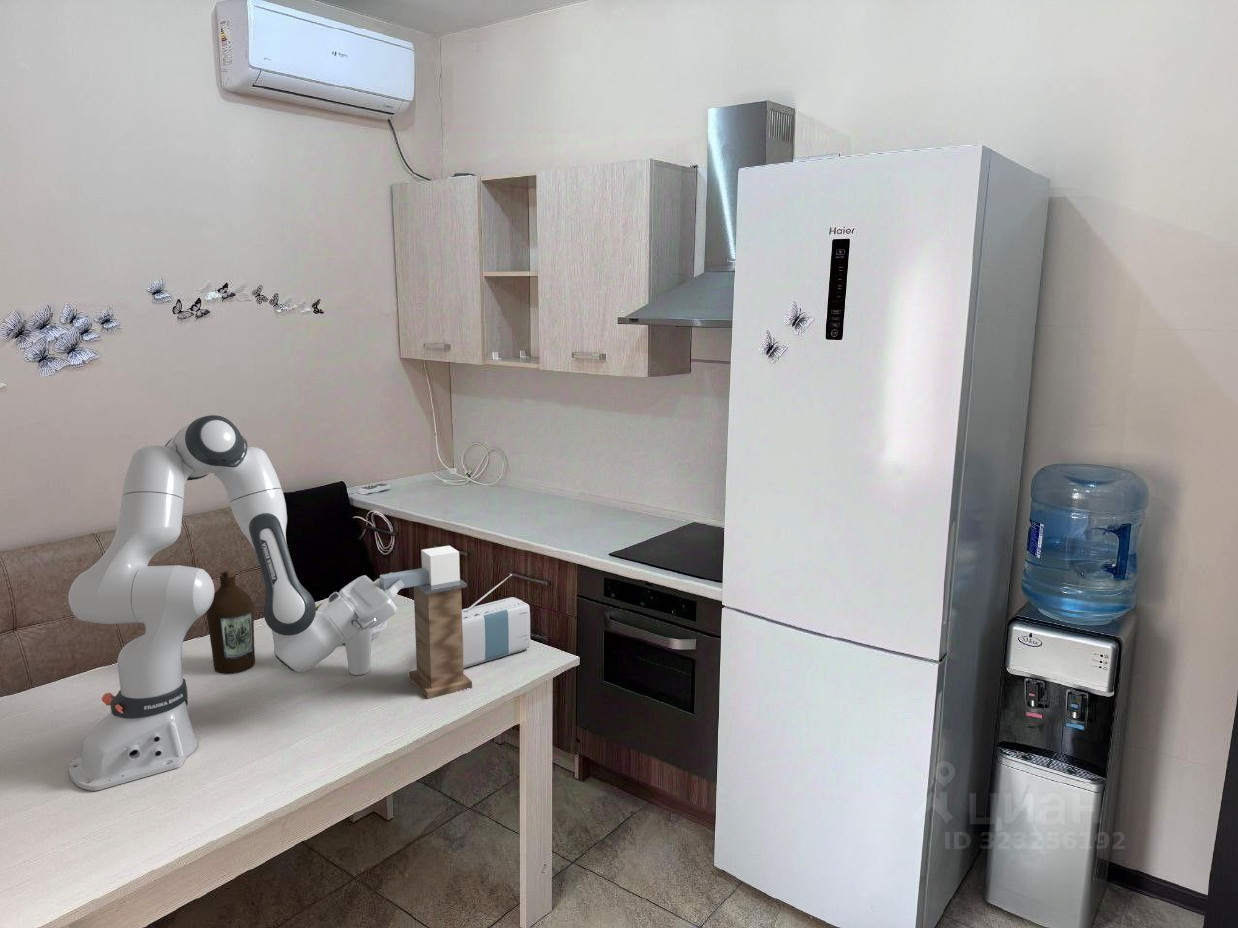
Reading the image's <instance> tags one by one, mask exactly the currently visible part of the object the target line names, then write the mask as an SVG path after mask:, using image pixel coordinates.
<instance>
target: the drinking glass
mask: <svg viewBox="0 0 1238 928" xmlns="http://www.w3.org/2000/svg"><path fill="white" fill-rule="evenodd" d="M345 639H346V638H345ZM346 640H347V639H346ZM372 640H373V639H372V628H371V629H369V628H368V629H366V630H365V629H364V630H362V631H360V632H359V633H358V634H357V635H355V636H354V637H353V638H351V639H350V640H349V641H347V642H346V643H344V645H345V651H346V652H345V653H346V659H347V669H348V673H349V674H351V675H352V676H361V675H366V674H368V673H369V672H370V671H371V668H372V666H371V665H372V664H371V663H372V661H371V660H372V659H371V658H372Z"/></svg>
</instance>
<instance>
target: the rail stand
mask: <svg viewBox="0 0 1238 928" xmlns="http://www.w3.org/2000/svg"><path fill="white" fill-rule="evenodd" d="M467 587H468V584H467V582H465V581H464V580H462V579H461V578H460V580H459V581H454V582H448V583H442V584H437V585H430V584H424V585H418V586H413V605H414V608H413V609H414V631H415V633H414V634H415V636H414V637H415V655H416V658H415V659H416V669H415V670H411V671H410V670H409V671H408V679H409V680H410V681H411V682H412V683H413V684H414V685H415V686H416V688H417V689H418V690H419V691H420V693H422V694H423V695H424V697H425V698H426V699H427V700H429V699H432V698H433V699H434V698H438V697H441V696H445V695H449V694H452V693H457V692H456V691H458V692H461V691H460V690H462V691H465V690H464V689H466V690H468V689H467V688H470V687H472V688H473V680H471V679H470V678H469V677H468V676H467V675H466V674H465V673H464V669H463V637H462V608H463V606H462V602H463V601H462V589H464V588H467ZM470 689H471V688H470Z"/></svg>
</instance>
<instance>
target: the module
mask: <svg viewBox="0 0 1238 928" xmlns="http://www.w3.org/2000/svg"><path fill="white" fill-rule="evenodd" d="M420 553H421V554H420V555H421V568H415V569H409V570H408V569H407V570H403V571H398V572H396V571H395V572H389V573H390V574H389V573H385V574H384V573H383V574H380V575H379V578H380V588H381V590H382V591H383V592H384V591H385V590H386V589H389V588H390V587H391V586H392V585H393V582H394V581H396V580H397V579H400V580H401V581H402V582H403V584H404V587H403V588H402V589H406V588H407V589H408V588H412V587H413V588H414V586H418V585H424V584H430V585H437V584H442V583H448V582H454V581H459V580H460V579H461V578H460V577H461V574H460V573H461V572H460V551H459V550H457V549H455V548H454V547H453V546H451V545H449V544H448V545H444V546H437V547H431V548H430V547H429V548H424V549H421V552H420Z"/></svg>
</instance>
